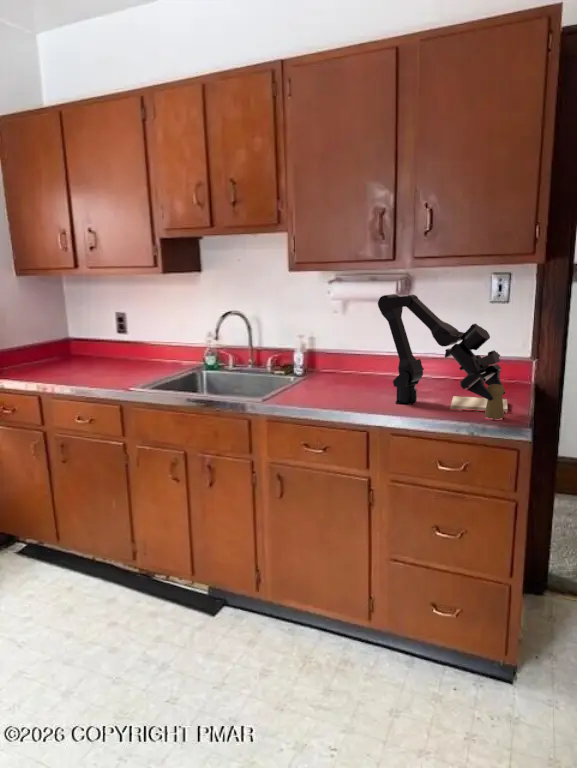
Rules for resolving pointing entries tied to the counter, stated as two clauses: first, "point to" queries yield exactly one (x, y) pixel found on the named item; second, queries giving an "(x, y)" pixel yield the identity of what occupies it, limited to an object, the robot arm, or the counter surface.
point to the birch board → (472, 403)
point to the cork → (495, 402)
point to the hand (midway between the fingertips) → (498, 396)
